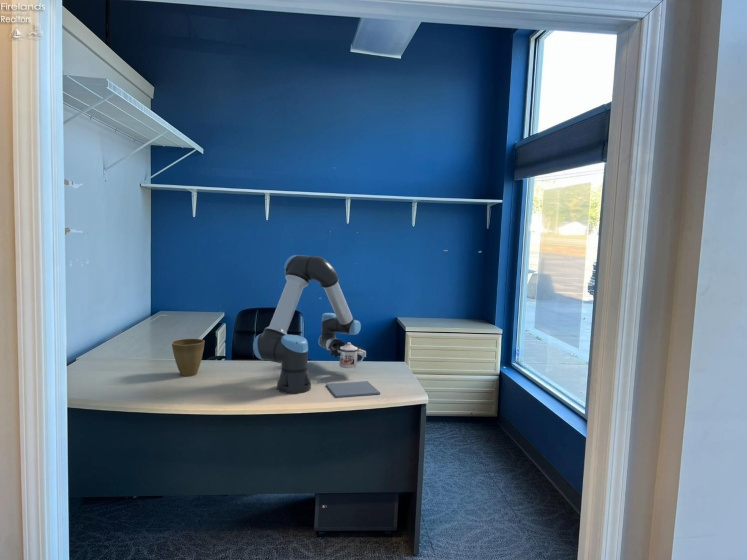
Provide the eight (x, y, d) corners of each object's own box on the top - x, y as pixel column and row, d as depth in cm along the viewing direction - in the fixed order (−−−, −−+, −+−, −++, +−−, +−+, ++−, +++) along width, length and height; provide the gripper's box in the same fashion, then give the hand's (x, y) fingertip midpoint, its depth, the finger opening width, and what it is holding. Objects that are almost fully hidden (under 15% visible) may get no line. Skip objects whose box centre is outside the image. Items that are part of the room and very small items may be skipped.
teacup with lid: (337, 368, 254) (338, 344, 253) (340, 363, 263) (341, 340, 262) (362, 369, 253) (362, 345, 252) (364, 365, 262) (365, 341, 261)
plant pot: (205, 369, 263) (205, 337, 261) (203, 377, 248) (203, 344, 247) (173, 370, 259) (173, 338, 258) (169, 379, 245) (169, 345, 243)
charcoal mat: (336, 397, 225) (336, 395, 225) (326, 385, 242) (326, 383, 242) (380, 394, 231) (380, 392, 231) (367, 382, 248) (367, 381, 248)
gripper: (355, 351, 279) (375, 360, 260) (314, 354, 268) (332, 364, 248) (355, 337, 278) (376, 345, 259) (315, 340, 267) (333, 349, 248)
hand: (354, 355), depth 254 cm, fingers closed on teacup with lid, 11 cm apart
